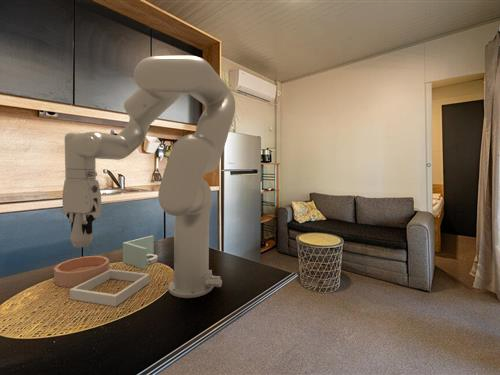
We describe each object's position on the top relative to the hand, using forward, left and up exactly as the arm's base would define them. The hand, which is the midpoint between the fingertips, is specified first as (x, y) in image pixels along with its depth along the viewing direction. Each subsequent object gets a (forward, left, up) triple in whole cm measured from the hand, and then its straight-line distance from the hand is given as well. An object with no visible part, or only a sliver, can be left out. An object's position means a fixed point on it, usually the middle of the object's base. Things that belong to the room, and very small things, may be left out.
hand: (81, 235), depth 76 cm
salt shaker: (0, 0, -3) cm, 3 cm away
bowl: (0, 0, -13) cm, 13 cm away
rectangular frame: (-15, +5, -13) cm, 20 cm away
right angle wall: (-11, -17, -14) cm, 24 cm away
